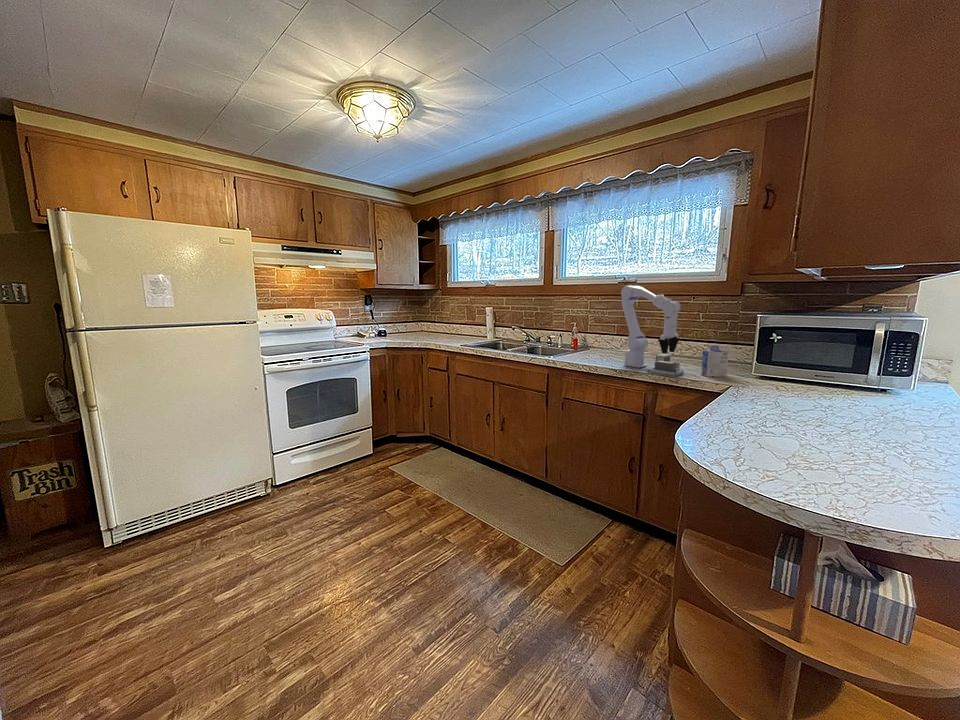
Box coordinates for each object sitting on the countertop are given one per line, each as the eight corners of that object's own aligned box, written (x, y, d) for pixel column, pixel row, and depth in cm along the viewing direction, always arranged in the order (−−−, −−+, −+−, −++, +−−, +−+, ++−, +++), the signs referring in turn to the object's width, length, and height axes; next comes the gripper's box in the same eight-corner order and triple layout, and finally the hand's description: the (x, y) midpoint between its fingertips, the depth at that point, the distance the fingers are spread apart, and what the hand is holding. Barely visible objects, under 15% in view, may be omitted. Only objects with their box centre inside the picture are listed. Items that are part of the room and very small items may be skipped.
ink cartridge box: (720, 374, 191) (723, 345, 188) (727, 376, 185) (730, 346, 183) (700, 374, 191) (702, 345, 188) (706, 377, 185) (709, 346, 183)
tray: (647, 372, 197) (647, 368, 197) (655, 369, 203) (656, 366, 202) (675, 376, 186) (675, 372, 186) (683, 374, 192) (683, 370, 192)
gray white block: (654, 371, 197) (654, 361, 196) (658, 370, 199) (658, 360, 198) (672, 374, 190) (672, 363, 189) (675, 372, 192) (676, 362, 192)
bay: (654, 368, 206) (655, 355, 205) (662, 366, 211) (663, 353, 210) (672, 371, 199) (673, 357, 198) (679, 369, 204) (680, 355, 203)
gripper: (671, 327, 186) (668, 355, 189) (685, 325, 195) (682, 352, 197) (656, 326, 192) (654, 353, 194) (671, 324, 200) (669, 350, 203)
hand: (668, 352), depth 196 cm, fingers open, 7 cm apart
